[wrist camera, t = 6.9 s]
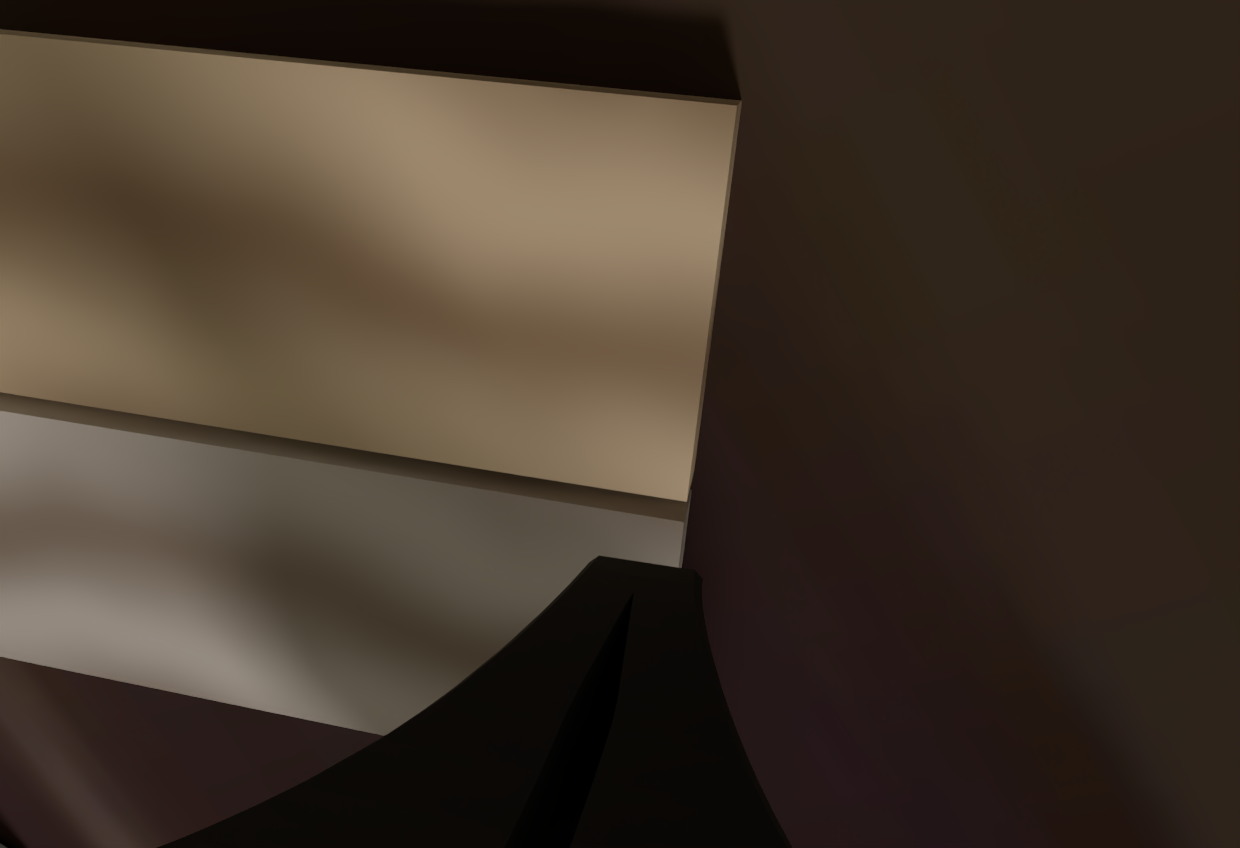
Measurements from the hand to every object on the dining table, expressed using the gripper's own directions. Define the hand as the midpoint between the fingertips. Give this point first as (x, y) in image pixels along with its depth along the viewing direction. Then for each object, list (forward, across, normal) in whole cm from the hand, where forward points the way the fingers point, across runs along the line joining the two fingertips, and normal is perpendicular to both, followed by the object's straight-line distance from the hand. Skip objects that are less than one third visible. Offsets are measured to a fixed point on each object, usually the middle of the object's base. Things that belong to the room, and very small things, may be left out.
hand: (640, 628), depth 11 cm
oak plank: (+9, +11, -2) cm, 14 cm away
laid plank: (+9, +11, +6) cm, 16 cm away
